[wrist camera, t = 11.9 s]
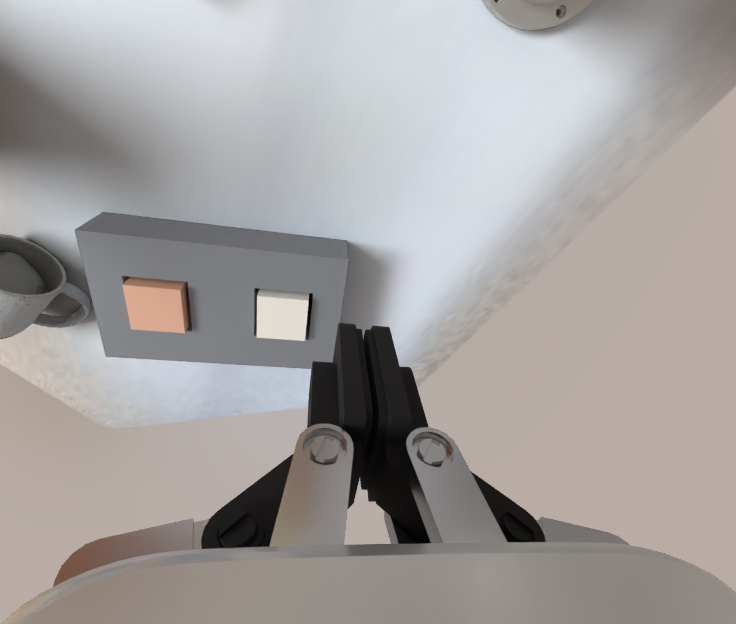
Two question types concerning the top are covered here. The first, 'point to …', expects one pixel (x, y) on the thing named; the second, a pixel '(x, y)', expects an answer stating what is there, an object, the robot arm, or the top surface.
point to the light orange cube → (157, 304)
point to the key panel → (213, 288)
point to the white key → (282, 314)
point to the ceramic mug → (33, 287)
